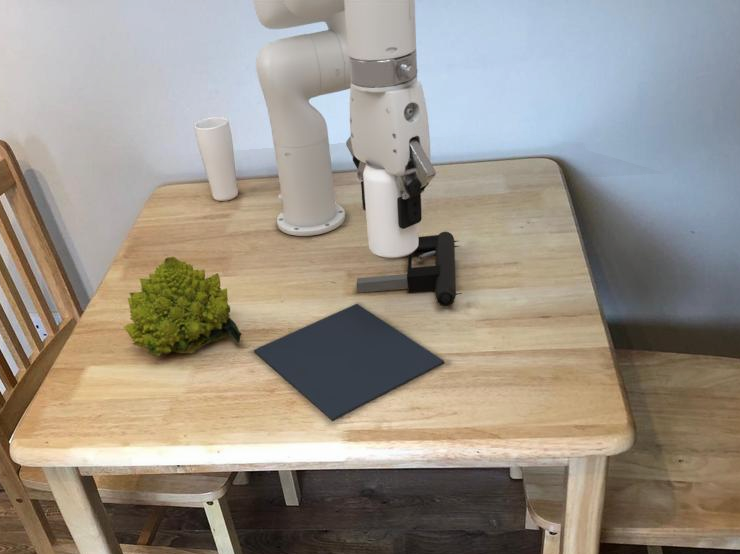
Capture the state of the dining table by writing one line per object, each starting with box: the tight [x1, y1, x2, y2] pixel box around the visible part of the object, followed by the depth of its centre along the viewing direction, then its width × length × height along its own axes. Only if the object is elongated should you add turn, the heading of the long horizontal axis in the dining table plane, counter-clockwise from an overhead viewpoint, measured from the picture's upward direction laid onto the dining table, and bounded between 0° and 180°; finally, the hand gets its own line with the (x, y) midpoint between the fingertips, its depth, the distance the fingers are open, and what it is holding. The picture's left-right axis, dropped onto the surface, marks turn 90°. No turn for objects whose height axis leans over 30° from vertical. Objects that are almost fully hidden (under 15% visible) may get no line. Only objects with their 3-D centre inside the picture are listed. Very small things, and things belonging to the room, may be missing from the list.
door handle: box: [355, 231, 463, 308], centre depth 119 cm, size 3×20×16 cm
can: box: [362, 161, 419, 260], centre depth 95 cm, size 6×6×12 cm
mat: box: [253, 303, 445, 422], centre depth 104 cm, size 20×18×1 cm
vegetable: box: [123, 256, 242, 357], centre depth 110 cm, size 15×16×15 cm
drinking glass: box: [193, 116, 239, 202], centre depth 149 cm, size 7×7×15 cm
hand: (391, 214), depth 96 cm, fingers closed on can, 6 cm apart
